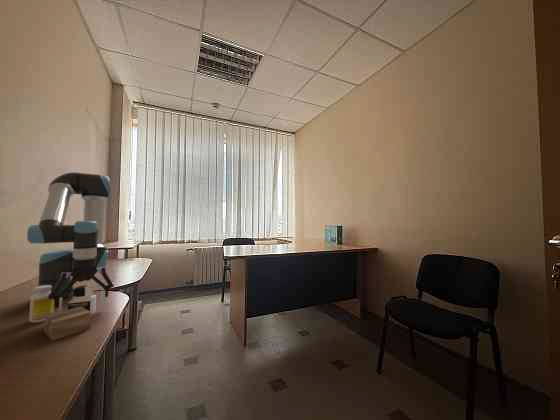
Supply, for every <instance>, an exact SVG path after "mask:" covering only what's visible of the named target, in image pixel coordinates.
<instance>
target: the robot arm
mask: <svg viewBox="0 0 560 420" xmlns="http://www.w3.org/2000/svg"><path fill="white" fill-rule="evenodd" d="M111 187H112V186H111V180H110V177H109V176H108V175H102V174H94V173H84V172H75V171H73V172H68V173H64V174H61V175H59V176H57V177H55V178H54V179H53V180H52V181H51V182H50V183H49V186H48V188H47V189H48V190H47V191H48V193H49V194H48V197H47V200H46V202H45V205H44V209H43V211H42V213H41V214H42V215H41V217H40V219H39V223H38V224H33V225H30V226H29V227H28V228H27V232H26V233H27V234H26V238H27V242H28V243H30V244H58V243H59V244H60V243H61V244H63V243H73V247H72V248H68V249H67V248H66V249H59V250H53V251H48V252H45V253H42V254H41V256H40V257H39V263H38V268H39V269H38V284H37V286H36V287H38V286H43V285H51V292H50V294H49V295H48V298H49V299H54V309H57V312H60V311H63V300H65V299H69V298H73V293H74V289H75V284H76V283H77V282H78V283H80V282H84V281H88V282H89V281H90V280H93V281H94V282H95V283H97V284H98V285H99V286H100V287H102V289H101V293H100V305H101V306H102V307H105V306H106V298H108V296H109V289H111V288H114V287H115V286H114V283H113V282H112V280H111V279H110V277H109V276H108V274H107V272H106V271H107V270H106V266H107V263H108V258H109V253H110V251H109V249H107V246H106V245H104V225H105V223H104V220H105V204H106V201H107V200H108V199H109V197H111V196H112V189H111ZM74 195H81V199H82V200H84V210H83V220H77V221H75V222H74V224H65V220H66V216H67V212H68V208H69V205H70V204H69V203H70V201H71V200H70V199H71V197H73V196H74ZM97 273H99V274H101V276H102V278H103V279H104V281H105V282H106V283H107V284H105V283H104V282H103V281H101V280H100V279H99V278H98V277H96V276H95V275H96V274H97ZM33 294H35V291H34V292H33Z"/></svg>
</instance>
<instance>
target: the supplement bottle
mask: <svg viewBox="0 0 560 420" xmlns="http://www.w3.org/2000/svg"><path fill="white" fill-rule="evenodd" d="M37 286H38V285H37ZM37 286H36V287H34V289H33V291H34V292H35V294H34V293H33V294H32V295H31V296H30V298H29V299H30V300H29V318H28V322H29V323H33V324H34V323H43V322H45V315H48V314H52V313H55V310H54V309H55V306H54V302H55V301H54V299H49V298H48V295H49V294H50V292H51V285H43V286H38V287H37Z"/></svg>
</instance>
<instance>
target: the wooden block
mask: <svg viewBox="0 0 560 420" xmlns="http://www.w3.org/2000/svg"><path fill="white" fill-rule="evenodd" d="M91 317H92V316H91V312H89V311H88V310H86V309H85V308H83V307H82V306H80V307H76V308H72V309H68V308H67V309H65V310H62V311H60V312H58V311H57V312H54V313H52V314H48V315H45V321H44V329H43V330H44V334H46V335H47V336H48V337H49V339H50V340H51V341H54V340H57V339H61V338H64V337H66V336H67V337H68V336H69V335H75V334H77V333H80V332H83V331H86V330H89V329H91Z"/></svg>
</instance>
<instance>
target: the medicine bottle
mask: <svg viewBox="0 0 560 420" xmlns="http://www.w3.org/2000/svg"><path fill="white" fill-rule="evenodd" d="M93 292H94V287H93V286H92V285H90V284H89V285H88V284H85V285H80V286H77V287H74V293H73V296H72V299H71V300H70V301H68V303H67V310H68V309H72V308H76V307H80V306H82V307H83V308H85V309H86V310H88V311H89V312H91V317H92V316H93V315H94V314H95V313H96V311H97V308H96V307H97V294H94V293H93Z"/></svg>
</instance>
